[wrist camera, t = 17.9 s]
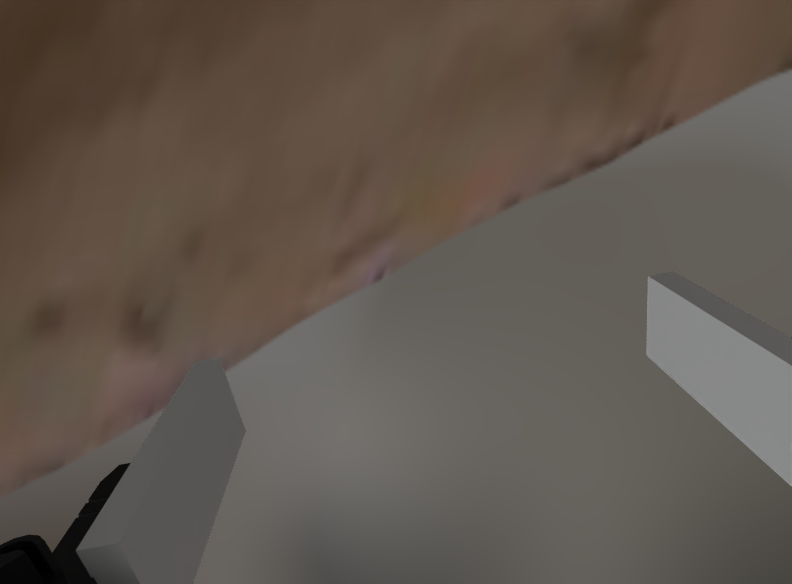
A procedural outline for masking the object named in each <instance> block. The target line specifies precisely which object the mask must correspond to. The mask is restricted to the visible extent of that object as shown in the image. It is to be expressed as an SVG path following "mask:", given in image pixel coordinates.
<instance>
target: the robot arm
mask: <svg viewBox="0 0 792 584" xmlns="http://www.w3.org/2000/svg"><path fill="white" fill-rule="evenodd" d="M646 355H647V356H648V357H649V358H650V359H651V360H652V361H653V362H655V363H656V364H657V365H658V366H659V367H660V368H661V369H662V370H663V371H664V372H666V373H667V374H668V375H669V376H670V377H671V378H672V379H673V380H674V381H675V382H677V383H678V384H679V385H680V386H681V387H682V388H683V389H684V390H686V392H688V393H689V394H690V395H691V396H692V397H693V398H694V399H695V400H696V401H698V402H699V403H700V404H701V405H702V406H703V407H704V408H705V409H707V410H708V411H709V412H710V413H711V414H712V415H713V416H714V417H715V418H716V419H718V420H719V421H720V422H721V423H722V424H723V425H724V426H725V427H726V428H727V429H729V430H730V431H731V432H732V433H733V434H734V435H735V436H736V437H737V438H739V439H740V440H741V441H742V442H743V443H744V444H745V445H746V446H747V447H749V448H750V449H751V450H752V451H753V452H754V453H755V454H756V455H757V456H758V457H760V458H761V459H762V460H763V461H764V462H765V463H766V464H767V465H768V466H770V467H771V468H772V469H773V470H774V471H775V472H776V473H777V474H778V475H779V476H781V477H782V478H783V479H784V480H785V481H786V482H787V483H789V485H790V486H792V337H790V336H788V335H786V334H784V333H783V332H781V331H779V330H777V329H776V328H774V327H772V326H770V325H768V324H767V323H765V322H763V321H761V320H759V319H757V318H755V317H754V316H752V315H750V314H749V313H746V312H745V311H743V310H741V309H740V308H738V307H736V306H734V305H732V304H730V303H729V302H727V301H725V300H723V299H722V298H720V297H718V296H716V295H715V294H713V293H711V292H709V291H707V290H706V289H704V288H702V287H700V286H698V285H697V284H695V283H693V282H691V281H689V280H688V279H686V278H684V277H682V276H680V275H679V274H677V273H675V272H668V273H662V274H657V275H652V276H648V304H647V353H646ZM245 431H246V430H245V427H244V424H243V422H242V419H241V416H240V413H239V410H238V408H237V405H236V402H235V399H234V396H233V394H232V391H231V388H230V385H229V382H228V380H227V377H226V374H225V371H224V368H223V366H222V363H221V360H220V357H218V358H212V359H207V360H202V361H196V362H194V364H193V365H192V367H191V368H190V370H189V371H188V373H187V375H186V376H185V378H184V379H183V381H182V383H181V384H180V386H179V387H178V389H177V391H176V392H175V394H174V395H173V397H172V398H171V400H170V402H169V403H168V405H167V406H166V408H165V410H164V411H163V413H162V414H161V416H160V418H159V419H158V421H157V422H156V424H155V426H154V427H153V429H152V430H151V432H150V434H149V435H148V437H147V438H146V440H145V441H144V443H143V445H142V446H141V448H140V449H139V451H138V453H137V454H136V456H135V457H134V459H133V460H132V462H131V463H128V464H122V465H119V466H118V467H116V468H115V469H114V471H112V472H111V473H110V474H109V475H108V476H107V477H105V478H104V479H103V480H102V481H101V482H100V484H99V485H98V486H97V488H96V489H95V491H94V492H93V494H92V495H91V497H90V498H89V503H86V504H85V506H84V507H83V509H82V510H81V511H80V513H79V514H78V515H79V517H78V518H76V519H75V521H74V522H73V523H72V525H71V527H70V528H69V529H68V531H67V532H66V534H65V535H64V537H63V538H62V540H61V541H60V543H59V544H58V546H57V547H56V548H55V550H54V551H53V553H52V552H51V550H50V549H49V547H48V546H47V544H46V542H45V541H44V540H43V539H42V538H41V537H40V536H38V535H26V536H22V537H19V538H14V539H12V540H10V541H8V542H6V543H4V544H2V545H0V584H193V582H194V579H195V576H196V573H197V570H198V568H199V565H200V562H201V559H202V556H203V553H204V550H205V547H206V545H207V541H208V539H209V536H210V533H211V530H212V527H213V524H214V521H215V518H216V516H217V512H218V510H219V507H220V504H221V501H222V498H223V495H224V493H225V490H226V486H227V484H228V481H229V478H230V475H231V472H232V469H233V466H234V463H235V461H236V458H237V455H238V452H239V449H240V446H241V443H242V440H243V437H244V435H245Z"/></svg>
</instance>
